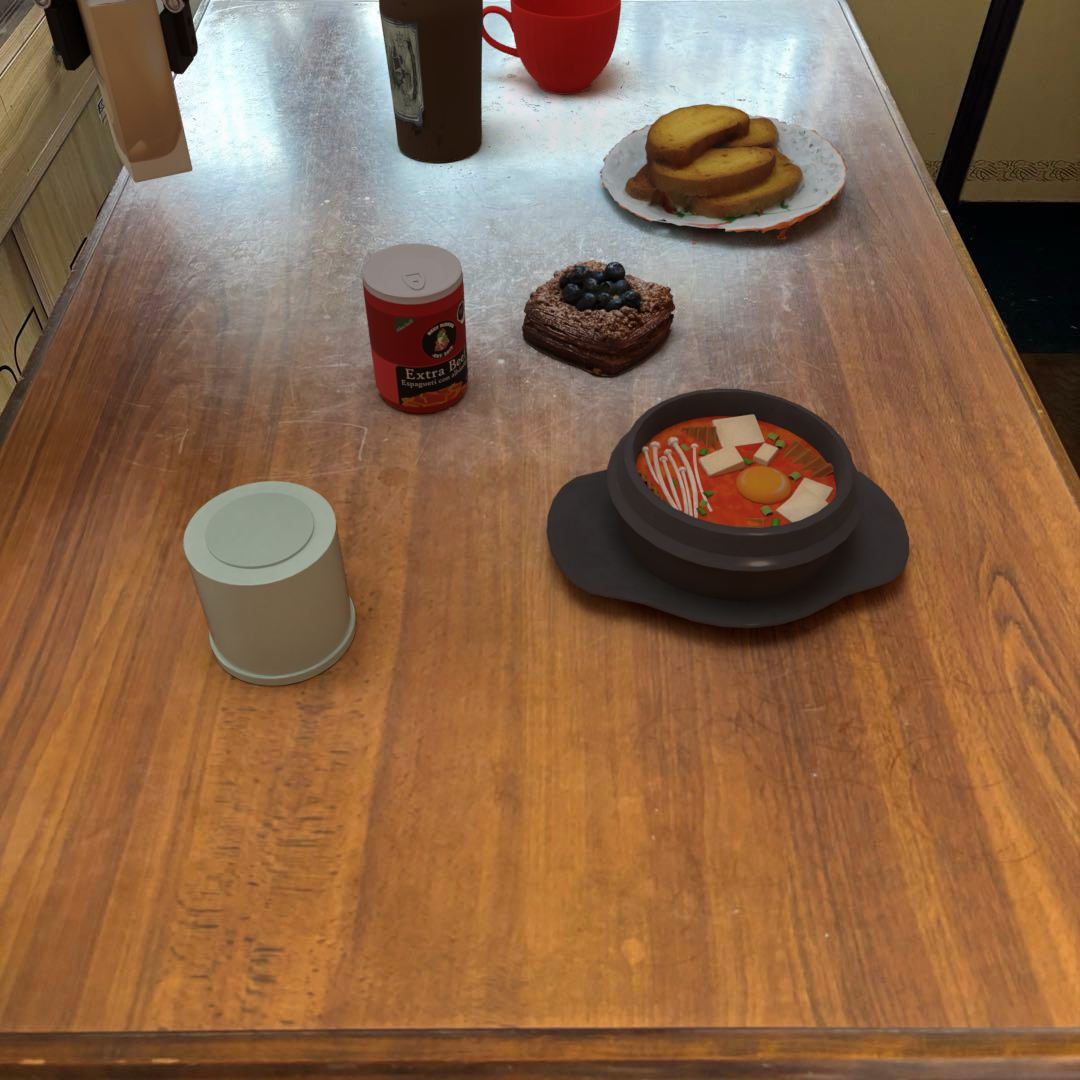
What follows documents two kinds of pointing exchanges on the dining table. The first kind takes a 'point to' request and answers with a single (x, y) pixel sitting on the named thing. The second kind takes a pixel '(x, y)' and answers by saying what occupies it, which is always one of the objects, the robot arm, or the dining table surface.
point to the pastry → (598, 318)
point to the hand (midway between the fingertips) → (130, 62)
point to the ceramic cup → (561, 40)
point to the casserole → (728, 514)
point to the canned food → (417, 326)
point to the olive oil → (435, 75)
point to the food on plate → (723, 170)
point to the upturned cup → (271, 582)
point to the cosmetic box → (136, 86)
